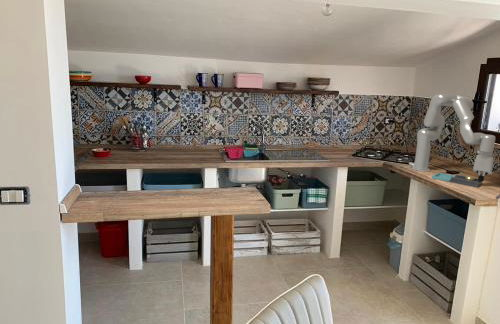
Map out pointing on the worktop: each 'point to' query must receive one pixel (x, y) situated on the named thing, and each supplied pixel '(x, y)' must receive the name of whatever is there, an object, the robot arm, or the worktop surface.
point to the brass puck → (470, 178)
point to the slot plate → (465, 181)
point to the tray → (442, 177)
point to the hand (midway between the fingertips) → (480, 181)
